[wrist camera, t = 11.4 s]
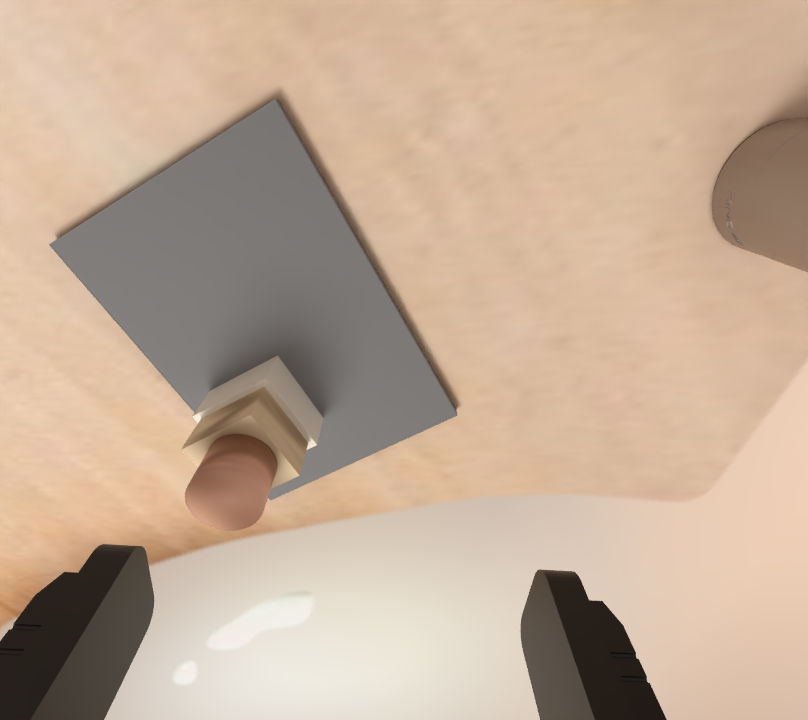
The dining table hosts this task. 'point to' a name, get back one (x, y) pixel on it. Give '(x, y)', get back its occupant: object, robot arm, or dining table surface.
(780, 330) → the dining table surface
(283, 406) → the tower base block
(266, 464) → the terracotta cylinder
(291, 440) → the tower top block
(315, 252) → the mat
